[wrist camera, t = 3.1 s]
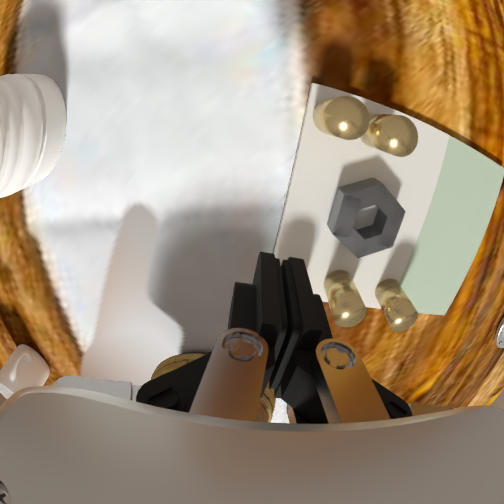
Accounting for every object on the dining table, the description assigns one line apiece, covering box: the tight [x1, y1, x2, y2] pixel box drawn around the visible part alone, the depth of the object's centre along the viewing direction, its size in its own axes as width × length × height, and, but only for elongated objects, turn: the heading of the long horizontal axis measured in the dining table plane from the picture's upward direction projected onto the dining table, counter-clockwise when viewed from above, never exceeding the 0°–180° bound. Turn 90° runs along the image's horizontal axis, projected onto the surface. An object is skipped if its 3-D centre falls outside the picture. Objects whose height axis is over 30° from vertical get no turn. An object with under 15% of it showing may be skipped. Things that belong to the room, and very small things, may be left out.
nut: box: [327, 177, 406, 258], centre depth 23 cm, size 6×7×2 cm
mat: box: [273, 83, 504, 315], centre depth 25 cm, size 24×20×1 cm
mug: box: [0, 344, 50, 399], centre depth 34 cm, size 9×12×11 cm
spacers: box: [280, 96, 418, 332], centre depth 22 cm, size 14×18×5 cm
